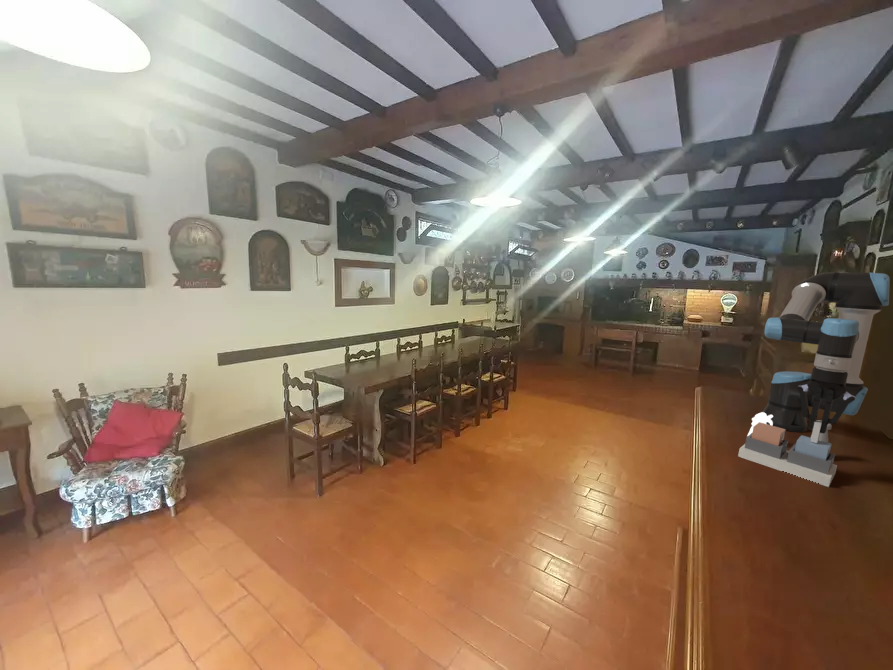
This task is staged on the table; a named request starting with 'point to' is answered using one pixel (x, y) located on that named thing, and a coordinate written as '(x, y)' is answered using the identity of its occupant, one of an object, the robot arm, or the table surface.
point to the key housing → (789, 460)
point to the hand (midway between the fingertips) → (814, 441)
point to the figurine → (760, 420)
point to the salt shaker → (824, 436)
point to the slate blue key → (813, 447)
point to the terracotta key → (768, 433)
